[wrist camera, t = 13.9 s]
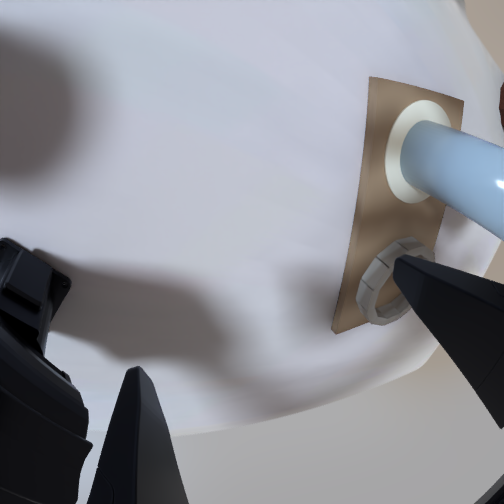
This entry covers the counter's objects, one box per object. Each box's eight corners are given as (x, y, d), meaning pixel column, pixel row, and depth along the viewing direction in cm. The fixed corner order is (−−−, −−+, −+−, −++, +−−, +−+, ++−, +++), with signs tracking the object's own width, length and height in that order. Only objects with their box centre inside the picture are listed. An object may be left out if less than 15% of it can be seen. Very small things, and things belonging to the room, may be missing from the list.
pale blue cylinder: (398, 193, 25) (506, 264, 15) (399, 124, 21) (530, 178, 12) (451, 174, 26) (543, 227, 17) (455, 115, 23) (559, 159, 13)
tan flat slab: (409, 298, 37) (423, 311, 35) (331, 328, 33) (345, 346, 31) (456, 99, 23) (479, 105, 21) (369, 76, 19) (396, 80, 17)
